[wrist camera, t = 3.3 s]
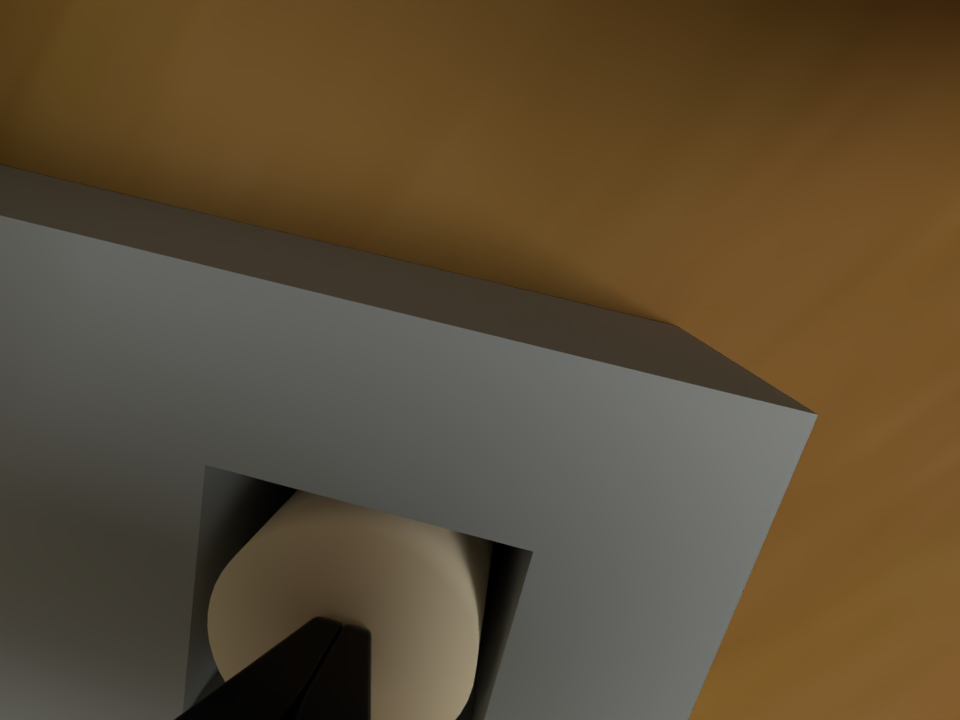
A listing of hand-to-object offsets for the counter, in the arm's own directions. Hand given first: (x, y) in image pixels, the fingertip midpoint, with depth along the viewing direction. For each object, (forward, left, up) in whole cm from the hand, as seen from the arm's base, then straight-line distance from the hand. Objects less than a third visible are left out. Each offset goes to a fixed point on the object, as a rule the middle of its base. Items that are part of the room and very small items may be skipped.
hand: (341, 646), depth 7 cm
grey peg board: (+6, 0, -6) cm, 9 cm away
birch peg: (0, 0, -6) cm, 6 cm away
